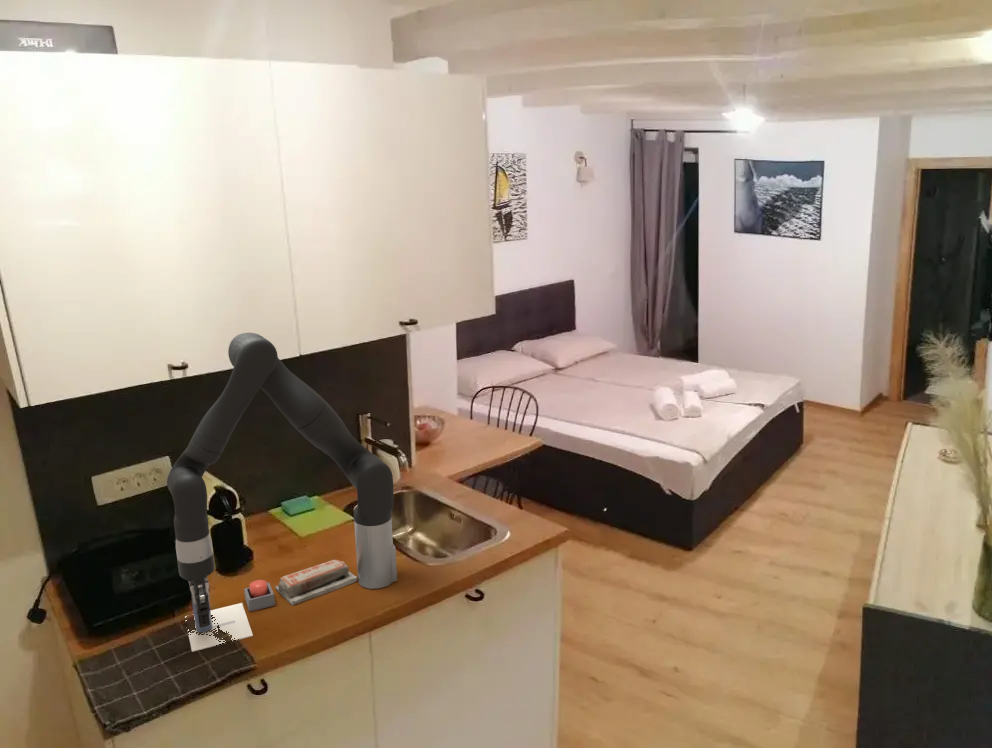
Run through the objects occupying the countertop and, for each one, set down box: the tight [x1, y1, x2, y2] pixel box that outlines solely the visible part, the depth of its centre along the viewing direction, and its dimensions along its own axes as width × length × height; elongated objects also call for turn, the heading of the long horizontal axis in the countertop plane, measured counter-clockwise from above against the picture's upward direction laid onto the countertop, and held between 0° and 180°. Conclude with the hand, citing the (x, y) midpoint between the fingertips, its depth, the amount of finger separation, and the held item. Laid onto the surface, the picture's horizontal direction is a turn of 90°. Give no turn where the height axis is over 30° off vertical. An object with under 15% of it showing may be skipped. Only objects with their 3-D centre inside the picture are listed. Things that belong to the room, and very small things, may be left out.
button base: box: [243, 582, 276, 613], centre depth 190 cm, size 6×6×3 cm
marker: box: [190, 593, 212, 632], centre depth 178 cm, size 4×4×9 cm
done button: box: [249, 579, 268, 598], centre depth 190 cm, size 4×4×3 cm
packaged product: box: [275, 559, 358, 606], centre depth 198 cm, size 18×5×10 cm
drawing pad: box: [184, 602, 254, 653], centre depth 181 cm, size 13×15×1 cm
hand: (203, 620), depth 179 cm, fingers closed on marker, 3 cm apart
